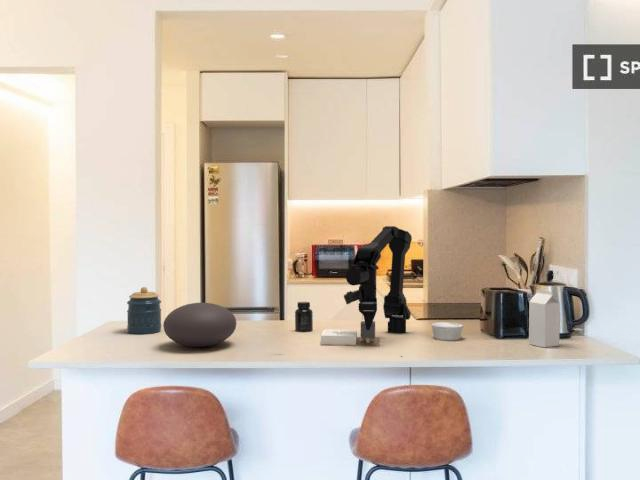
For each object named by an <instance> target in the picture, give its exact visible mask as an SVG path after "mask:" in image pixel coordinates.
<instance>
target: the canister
mask: <svg viewBox="0 0 640 480" xmlns="http://www.w3.org/2000/svg"><path fill="white" fill-rule="evenodd" d="M159 296H160V295H159V294H158V293H156V292H154V291H148V288H147V287H146V286H143V287H142V286H141V288H140V291H137V292H132V294H130V295H129V296H128V297H129V300H128V301H126V304H127V305H128V307H127V308H128V309H127V310H126V312H127V325H126V327H127V333H129V334H131V335H132V334H133V335H150V334H156V333H159V332H161V331H162V309H161V303H162V301H161V300H160V299H159Z"/></svg>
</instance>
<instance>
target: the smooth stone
mask: <svg viewBox="0 0 640 480" xmlns="http://www.w3.org/2000/svg"><path fill="white" fill-rule="evenodd" d="M162 326H163V330H164V331H163V332H164V333H165V335H166V336H167V337H168V338H169V339H170V340H171V341H173V342H175V343H177V344H179V345H182V346H185V347H193V348H199V347H200V348H203V347H210V346H214V345H218V344H220V343H222V342H224V341H225V340H227V339H228V338H230V337H231V336H232V335H233V334H234V332H235V330H236V329H237V328H236V327H237V319H236V316H235V315H234V313H232V312H231V310H229V309H227V308H226V307H225V306H223V305H220V304H215V303H213V302H193V303H187V304H184V305H181V306H179V307H177V308H175V309H173V310H172V311H170V312H169V313H168V314H167V316H166V317H165V319H164V321H163V324H162Z"/></svg>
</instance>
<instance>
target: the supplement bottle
mask: <svg viewBox="0 0 640 480" xmlns="http://www.w3.org/2000/svg"><path fill="white" fill-rule="evenodd" d="M296 307H297V309H295V311H294V313H295V314H294V328H295V329H294V331H295V332H297V333H310V332H313V329H314V328H313V327H314V326H313V325H314V323H313V322H314V319H313V317H314V315H313V313H314V312H313V309H311V302H309V301H298V302H297V306H296Z"/></svg>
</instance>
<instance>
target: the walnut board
mask: <svg viewBox="0 0 640 480" xmlns="http://www.w3.org/2000/svg"><path fill="white" fill-rule="evenodd" d="M319 345H320V347H321V346H323V347H373V348H374V347H381V346H380V337H376V336H375V338H374V341H371V338H369V343H366V338H365V341H362V338H361V336H360V337H359V336H357V342H356V345H333V344H321V343H320V344H319Z"/></svg>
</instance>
